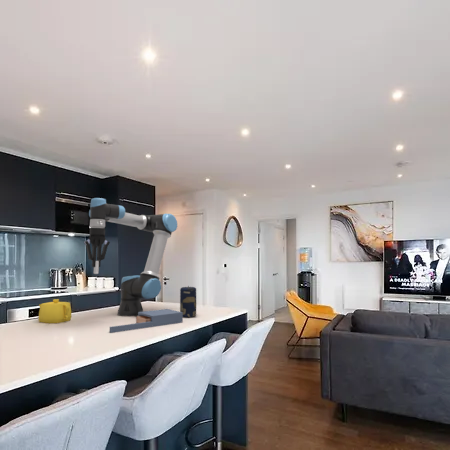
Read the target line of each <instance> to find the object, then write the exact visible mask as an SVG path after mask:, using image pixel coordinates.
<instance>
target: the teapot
mask: <svg viewBox="0 0 450 450" xmlns="http://www.w3.org/2000/svg"><path fill="white" fill-rule="evenodd" d="M38 307H39V311H38V322H39V323H40V324H41V323H42V324H55V325H56V324H62V323H65V322H69V321H71V319H72V308H71V302H70V301H68V302H67V301H60V299H59V298H57V299H56V298H54V299H52V301H49V302H44V303H40V304H38Z"/></svg>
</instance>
